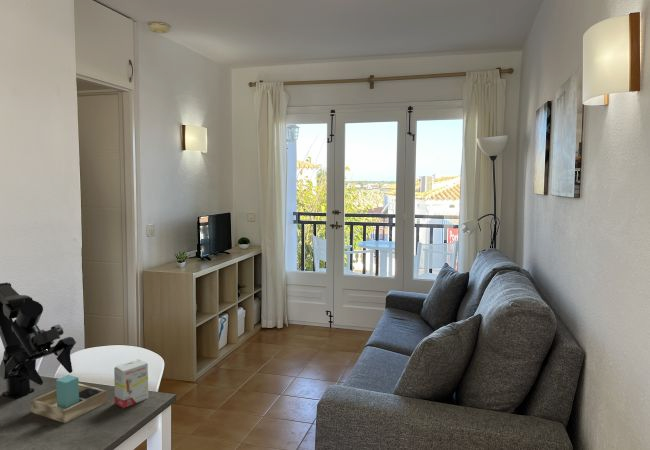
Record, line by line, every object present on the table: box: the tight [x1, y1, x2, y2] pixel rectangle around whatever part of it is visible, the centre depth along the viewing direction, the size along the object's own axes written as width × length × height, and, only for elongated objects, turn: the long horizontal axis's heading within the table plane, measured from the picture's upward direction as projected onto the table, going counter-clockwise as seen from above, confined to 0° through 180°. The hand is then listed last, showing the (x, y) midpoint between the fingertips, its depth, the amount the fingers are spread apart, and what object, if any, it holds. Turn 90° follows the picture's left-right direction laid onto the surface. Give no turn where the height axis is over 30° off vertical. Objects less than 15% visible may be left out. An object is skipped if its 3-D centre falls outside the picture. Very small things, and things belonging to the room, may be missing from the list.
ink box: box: [113, 359, 149, 409], centre depth 149 cm, size 9×5×12 cm, turn 143°
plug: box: [55, 374, 80, 409], centre depth 140 cm, size 4×4×10 cm
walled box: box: [30, 383, 108, 424], centre depth 145 cm, size 14×14×4 cm
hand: (57, 378), depth 141 cm, fingers open, 9 cm apart
